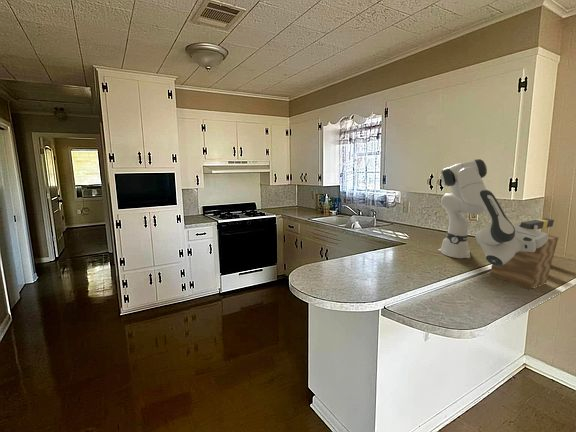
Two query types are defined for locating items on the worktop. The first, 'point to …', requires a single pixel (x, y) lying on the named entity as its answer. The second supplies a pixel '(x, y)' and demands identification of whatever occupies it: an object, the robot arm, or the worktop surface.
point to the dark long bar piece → (538, 223)
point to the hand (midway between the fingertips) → (530, 224)
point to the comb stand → (528, 266)
